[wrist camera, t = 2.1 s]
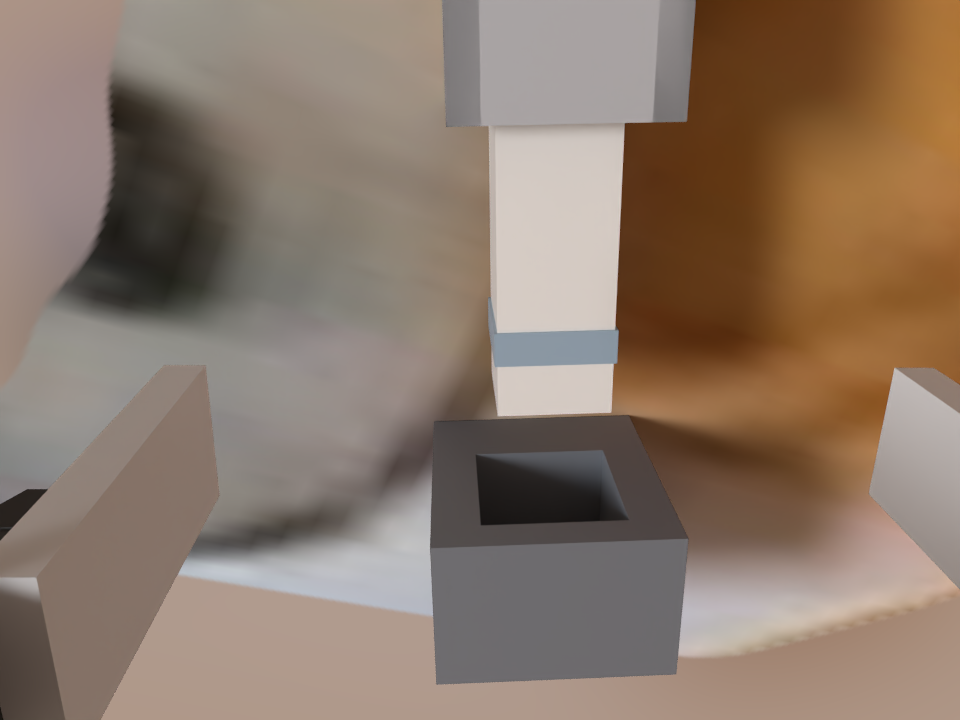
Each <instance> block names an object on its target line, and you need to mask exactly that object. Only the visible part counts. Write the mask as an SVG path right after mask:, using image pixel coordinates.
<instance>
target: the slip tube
mask: <svg viewBox="0 0 960 720" xmlns="http://www.w3.org/2000/svg"><path fill="white" fill-rule="evenodd" d="M624 129H625V123H600V124H554V125H507V126H489V180H490V261H491V297H488V318H489V333H490V339H491V346H492V377H493V384H494V392H495V399H496V406H497V413H498V416H521V415H552V414H582V413H611V407H612V386H613V364H617V354H618V334H619V330H618V329H617V327H616V325H615V322H616V300H617V279H618V258H619V236H620V215H621V193H622V172H623V151H624Z"/></svg>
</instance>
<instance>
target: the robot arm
mask: <svg viewBox="0 0 960 720" xmlns="http://www.w3.org/2000/svg"><path fill="white" fill-rule="evenodd" d="M869 495H870V496H871V497H872V498H873V499H874V500H875V501H876V502H877V503H878V504H879V505H880V506H881V507H882V508H883V509H884V510H885V512H886V513H887V514H888V515H889V516H890V517H891V518H892V519H893V520H894V521H895V522H896V523H897V524H898V525H899V526H900V527H901V528H902V529H903V530H904V531H905V532H906V534H907V535H908V536H909V537H910V538H911V539H912V540H913V541H914V542H915V543H916V544H917V545H918V546H919V547H920V548H921V549H922V550H923V551H924V552H925V553H926V555H927V556H928V557H929V558H930V559H931V560H932V561H933V562H934V563H935V564H936V565H937V566H938V567H939V568H940V569H941V570H942V571H943V572H944V573H945V574H946V575H947V577H948V578H949V579H950V580H951V581H952V582H953V583H954V584H955V585H956V586H957V587H958V588H959V589H960V385H959V384H958V383H956V382H955V381H953V380H951V379H950V378H948V377H947V376H945V375H944V374H942V373H941V372H939V371H938V370H936V369H934V368H894V373H893V378H892V383H891V388H890V393H889V398H888V403H887V407H886V412H885V417H884V422H883V427H882V432H881V437H880V441H879V446H878V451H877V456H876V461H875V466H874V471H873V475H872V480H871V485H870V490H869ZM218 497H219V486H218V477H217V467H216V458H215V449H214V440H213V430H212V421H211V412H210V402H209V393H208V384H207V375H206V365H164V366H163V367H162V368H161V369H160V370H159V371H158V372H157V373H156V374H155V375H154V377H153V378H152V379H151V380H150V381H149V382H148V383H147V384H146V385H145V386H144V387H143V388H142V389H141V391H140V392H139V393H138V394H137V395H136V396H135V397H134V398H133V399H132V400H131V401H130V402H129V403H128V404H127V406H126V407H125V408H124V409H123V410H122V411H121V412H120V413H119V414H118V415H117V416H116V417H115V418H114V419H113V421H112V422H111V423H110V424H109V425H108V426H107V427H106V428H105V429H104V430H103V431H102V432H101V433H100V434H99V436H98V437H97V438H96V439H95V440H94V441H93V442H92V443H91V444H90V445H89V446H88V447H87V448H86V449H85V451H84V452H83V453H82V454H81V455H80V456H79V457H78V458H77V459H76V460H75V461H74V462H73V463H72V464H71V466H70V467H69V468H68V469H67V470H66V471H65V472H64V473H63V474H62V475H61V476H60V477H59V478H58V479H57V481H56V482H55V483H54V484H53V485H52V486H51V487H50V488H49V489H27V490H25V491H23V492H22V493H20V494H18V495H16V496H14V497H13V498H11V499H9V500H7V501H5V502H4V503H2V504H0V720H101V718H102V716H103V714H104V712H105V710H106V709H107V707H108V705H109V703H110V701H111V699H112V697H113V695H114V693H115V692H116V690H117V688H118V686H119V684H120V682H121V680H122V678H123V676H124V674H125V673H126V671H127V669H128V667H129V665H130V663H131V661H132V659H133V657H134V656H135V654H136V652H137V650H138V648H139V646H140V644H141V642H142V641H143V639H144V637H145V635H146V633H147V631H148V629H149V627H150V625H151V624H152V622H153V620H154V618H155V616H156V614H157V612H158V610H159V608H160V606H161V605H162V603H163V601H164V599H165V597H166V595H167V593H168V591H169V590H170V588H171V586H172V584H173V582H174V580H175V578H176V576H177V575H178V573H179V571H180V569H181V567H182V565H183V563H184V561H185V559H186V558H187V556H188V554H189V552H190V550H191V548H192V546H193V544H194V542H195V541H196V539H197V537H198V535H199V533H200V531H201V529H202V527H203V525H204V524H205V522H206V520H207V518H208V516H209V514H210V512H211V510H212V509H213V507H214V505H215V503H216V501H217V499H218Z"/></svg>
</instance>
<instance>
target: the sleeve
mask: <svg viewBox="0 0 960 720" xmlns="http://www.w3.org/2000/svg"><path fill="white" fill-rule="evenodd" d="M695 4H696V0H442V7H443V40H444V72H445V104H446V127H460V126H507V125H554V124H600V123H647V122H687V113H688V99H689V86H690V72H691V59H692V45H693V31H694V18H695Z"/></svg>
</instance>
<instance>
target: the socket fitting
mask: <svg viewBox="0 0 960 720" xmlns="http://www.w3.org/2000/svg"><path fill="white" fill-rule="evenodd" d="M687 550H688V537H687V535H686V532H685V530H684V528H683V526H682V524H681V522H680V520H679V518H678V516H677V514H676V512H675V510H674V508H673V506H672V504H671V502H670V500H669V497H668V495H667V493H666V491H665V489H664V487H663V485H662V483H661V481H660V479H659V477H658V475H657V473H656V471H655V469H654V467H653V464H652V462H651V460H650V458H649V456H648V454H647V452H646V450H645V448H644V446H643V444H642V442H641V440H640V438H639V436H638V434H637V432H636V429H635V427H634V425H633V423H632V421H631V419H630V417H629V415H625V416H594V417H563V418H532V419H501V420H471V421H440V422H434V435H433V469H432V504H431V538H430V555H431V576H432V598H433V619H434V641H435V661H436V662H435V663H436V684H460V683H484V682H506V681H529V680H530V681H531V680H554V679H575V678H576V679H578V678H601V677H625V676H649V675H671V674H676V670H677V660H678V649H679V638H680V627H681V616H682V605H683V594H684V583H685V572H686V561H687Z"/></svg>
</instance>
